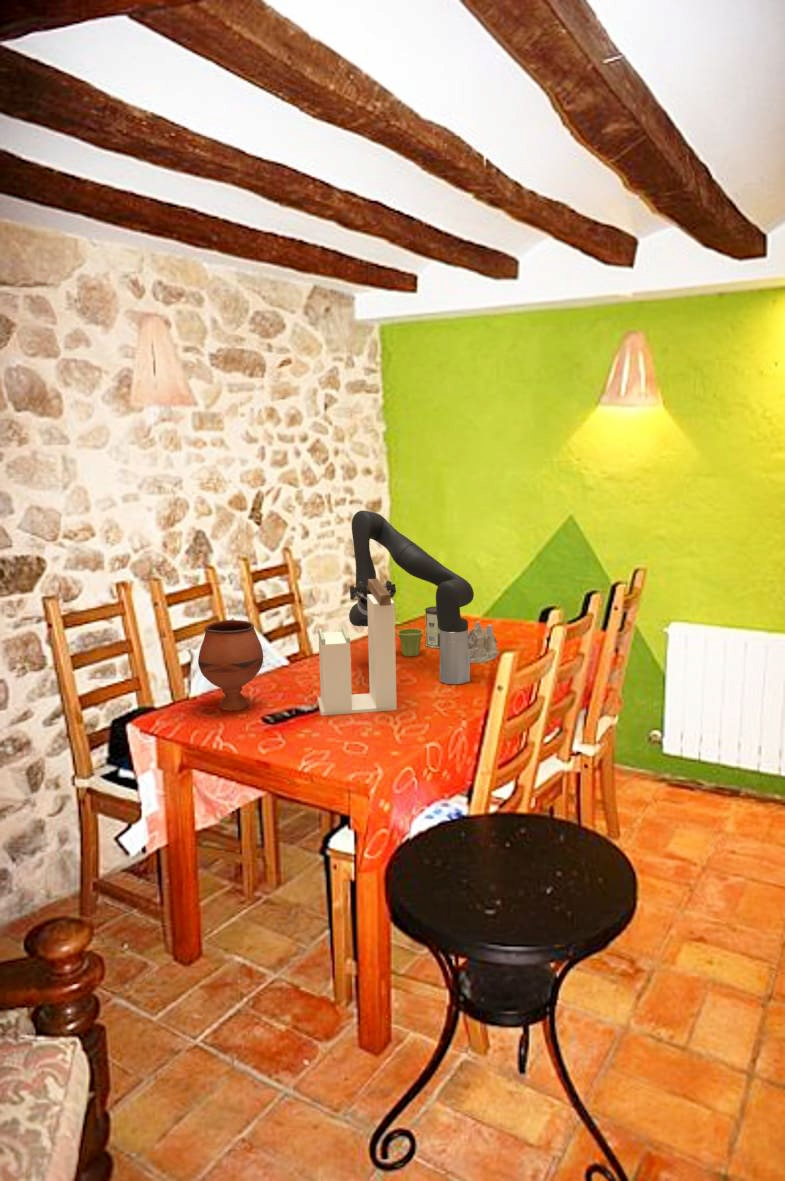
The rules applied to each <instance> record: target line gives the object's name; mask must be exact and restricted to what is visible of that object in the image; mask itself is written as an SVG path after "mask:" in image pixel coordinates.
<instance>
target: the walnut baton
mask: <svg viewBox="0 0 785 1181" xmlns="http://www.w3.org/2000/svg"><path fill="white" fill-rule="evenodd" d="M383 585H384V584H383V583H382V582H381V581H380V580H379V579H378V578H376V579H368V589H369V591H370V592H371V593H372V595H373V596H374V598H375V599H376V600H377V602H378V603H379V605H380V606H386V605H391V599H392V598H391V594H390V593H389V592H388V591H387V590H386V588H385V587H384V586H383Z"/></svg>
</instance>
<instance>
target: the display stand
mask: <svg viewBox="0 0 785 1181" xmlns="http://www.w3.org/2000/svg"><path fill="white" fill-rule="evenodd" d="M395 606H396V605H395V602H394V600H393V599H392V598H391V605H386V606H380V605H379V603H378V602H377V600H376V599H375V598H374V596H373V595H372V594H367V608H368V626H367V636H368V638H367V640H368V641H367V642H368V645H367V647H368V675H369V676H368V678H369V679H368V680H369V681H368V682H369V684H368V685H369V693H356V694H354V693H353V694H352V690H353V689H352V688H353V687H352V664H351V663H352V662H351V661H352V660H351V637H350V635H349V633H348V630H347V628H346V626H341V631H330V632H323V628H321V627H319V628H317V629H318V630H317V632H318V633H317V634H318V635H317V636H318V656H319V658H318V659H319V661H318V662H319V679H320V680H319V682H320V696H317V703H318V708H319V712H320V713H319V714H320V716H333V715H346V714H347V715H350V714H360V713H361V714H362V713H377V712H388V711H389V712H390V711H397V662H396V614H395V612H396V611H395V609H396V608H395Z"/></svg>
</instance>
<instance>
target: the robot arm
mask: <svg viewBox="0 0 785 1181" xmlns="http://www.w3.org/2000/svg"><path fill="white" fill-rule="evenodd" d="M351 534H352V542H353V550H354V552H353V554H354V559H355V586H353V585H352V586H349V598H350V600H352V601H354V600H355V598H356V599H357V601H356V602H357V603H355V604H354V605H353V606H352V607H351V609H350V610H349V614H348V618H349V623H351V625H353V626H355V627H368V608H367V594H372V593H371V592H370V591H369V589H368V579H377V573H376V567H375V565H374V562H373V559H372V558H373V557H372V555H371V551H370V550H371V548H370V542H371V540H372V541H375V542H376V543H378V544H380V546H383V547H384V548H385V549H386V550H387V551H388V553H389V555H390V557H391V558H392V560H393V561H394V563H395V564H396V565H397V566H398V567H400V569H402V570H404V572H406V573H408V574H409V575H410V576H413V577H415V578H417V579H420V580H423V581H425V582H428V583H430V584H432V585H435V586H436V592H435V606H436V612H437V620H438V623H439V629H440V648H439V681H440V682H441V683H443V684H446V685H447V684H448V685H461V684H465V683H471V664H470V653H469V652H468V633H469V621H468V620H467V619H466V618H463V617H462V616H461V608H462V607H465V606H468V605H469V604H470V603H472V602H473V600H474V596H475V592H474V590H473V589H474V588H473V587H472V585H471V583H470V582H469V581H468V580H467V579H465V578H463V577H462V576H461V575H458V574H457V573H455V572H453V571H452V570H450V569H449V568H447V567H445V565H443V564H442V563H440V562H439V561H438V560H437V559H435V558H434V557H433V556H431V555H430V554H429V553H427V551H426V550H424V549H423V548H422V547H421V546H419V545H418V544H417V543H415V542H413V541H412V540H411V539H410V538H408V537H407V536H405V535H403V533H401V532H399V531H398V530H397V529H396V528H395V527H394V526H393V525H391V524H390V522H389V521H388V520H387V519H386V518H385V517H384V516H383V515H381V514H379V513H378V512H374V511H369V510H363V509H362V510H359V511H356V513H354V515H353V516H352V520H351ZM382 585H383V586H384V587H385V588H386V590H387V591H388V592H389V593H390V594H391V599H392V598H394V596H395V595H396V593H397V588H396V584H395V583H392V581H390V580H389V579H388V580H386V583H385V584H382Z"/></svg>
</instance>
